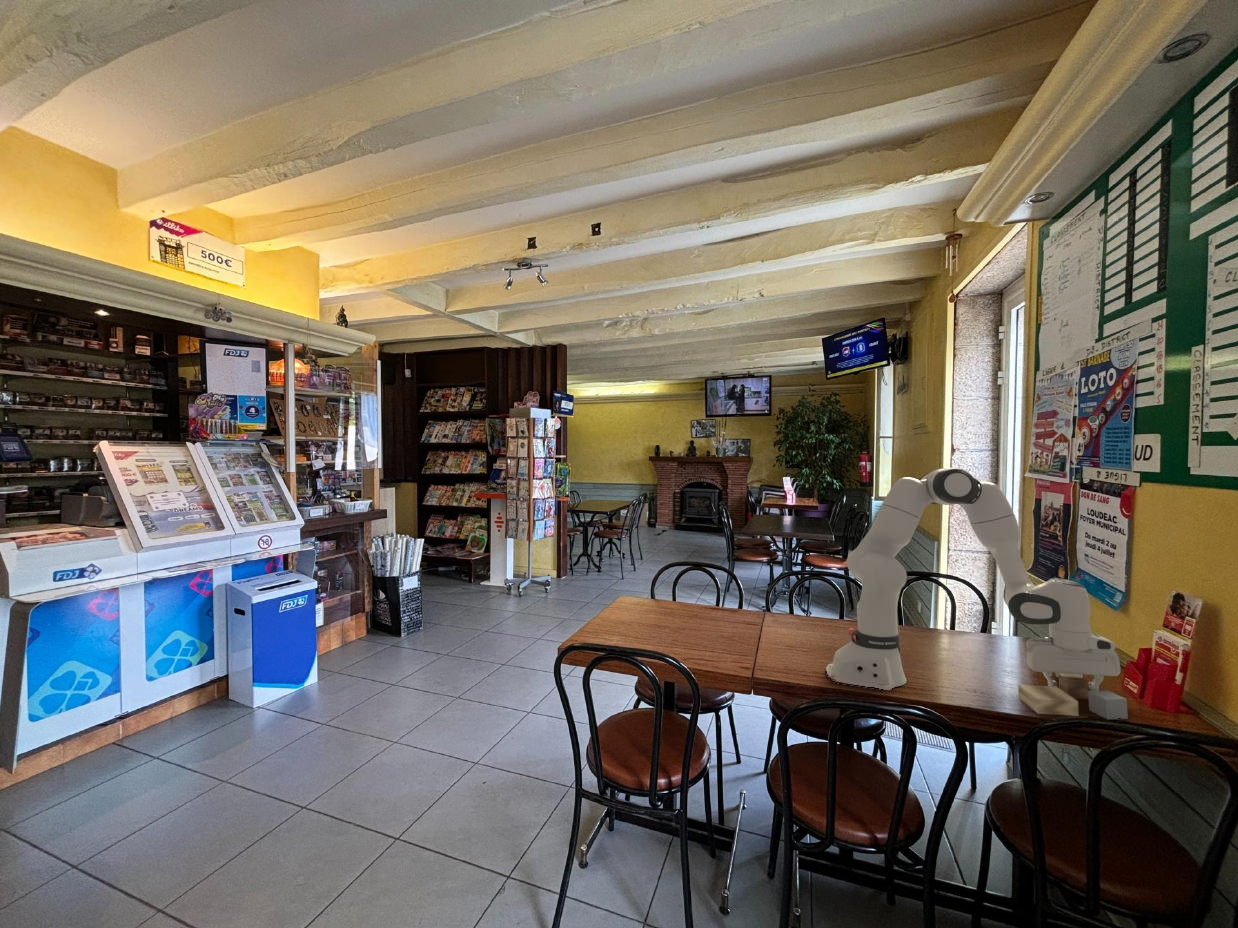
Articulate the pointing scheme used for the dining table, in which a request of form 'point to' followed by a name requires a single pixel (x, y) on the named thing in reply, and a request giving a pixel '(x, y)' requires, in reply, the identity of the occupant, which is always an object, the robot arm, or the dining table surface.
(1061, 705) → the maple pedestal
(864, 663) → the robot arm
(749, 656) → the dining table surface
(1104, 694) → the slate cube
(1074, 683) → the walnut block
